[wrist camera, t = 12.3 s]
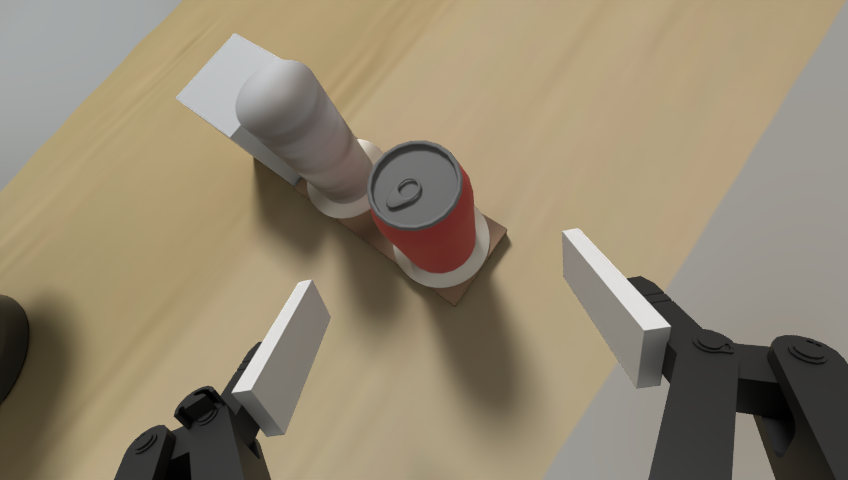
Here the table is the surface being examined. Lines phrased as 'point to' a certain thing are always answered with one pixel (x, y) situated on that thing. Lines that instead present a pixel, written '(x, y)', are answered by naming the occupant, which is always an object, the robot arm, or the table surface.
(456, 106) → the table surface
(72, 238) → the table surface
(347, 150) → the board
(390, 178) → the beer can
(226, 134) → the white upright block
